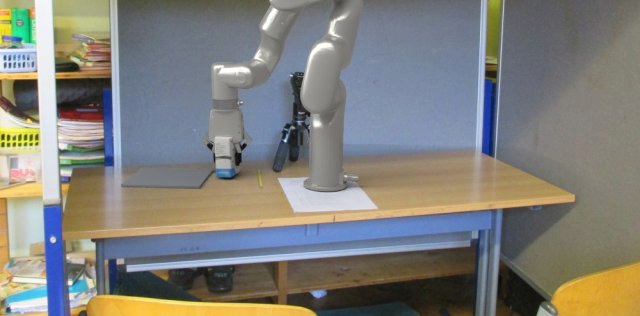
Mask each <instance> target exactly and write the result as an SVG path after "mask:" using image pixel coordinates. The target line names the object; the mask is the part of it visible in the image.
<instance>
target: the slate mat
mask: <svg viewBox="0 0 640 316" xmlns="http://www.w3.org/2000/svg"><path fill="white" fill-rule="evenodd" d="M213 172H214V168H191V167H190V168H188V167H186V168H185V167H147V166H142V167H141V168H140V169H139V170H137V171H136V172H135V173H134V174H132V175H131V176H130V177H129V178H128V179H126V180H125V181H124V182H123V183H121V184H120V187H125V188H155V189H156V188H157V189H159V188H163V189H198V190H199V189H200V188H201V187H202V186H203V184H204V183H205V182H206V181H207V180H208V179H209V177H210V176H211V174H212V173H213Z"/></svg>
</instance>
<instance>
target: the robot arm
mask: <svg viewBox="0 0 640 316" xmlns="http://www.w3.org/2000/svg"><path fill="white" fill-rule="evenodd" d="M322 1H324V0H268V2H269V3H270V5H269V7H268V8H267V10H266V12H265V14H264V15H263V17H262V19H261V21H260V23H259V25H258V29H259V32H260V36H261V37H260V43H259V46H258V48H257V49H256V52H255V53H254V55H253V56H252V58H251V60H248V61H245V62H238V63H235V62H234V61H217V62H213V63H212V64H211V66H210V74H211V75H210V76H211V77H210V78H211V100H212V101H211V102H212V108H211V109H210V111H209V120H208V131H207V133H206V134H205V135H204V136H203V138H202V139H201V142H200V143H202V144H203V145H205V146H206V147H207V148H208V149H209V150H210V151H211V152H212V155H213V158H212V159H213V163H214V165H215V166H216V160H215V141H214V139H215V137H231V138H232V140H233V143H234V144H235V147H236V149H237V152H236V166H239V165H240V166H241V163H242V161H243V157H242V155H243V153H242V152H243V151H244V150H245V149H246V148H247V146H249V145H250V144H251V143H252V142H253V138H252V137H251V136H250V135H249V134H248V133H247V131H245V121H244V114H243V110H242V108H240V106H244V100H242V99H241V100H240V98H239V90H249V89H254V88H256V87H260V86H262V85H264V84H265V83H267V81H268V80H269V79H270V78H271V76H272V74H273V72H274V71H275V69H276V67H277V66H278V64H279V62H280V61H281V58H282V55H283V52H284V50H285V46H286V42H287V39H288V37H289V35H290V34H291V32H292V30H293V29H294V27H295V25H296V24H297V22H298V20H299V18H301V17H300V16H301V15H302V13H303V12H304V10H305V8H306V6H308V5H313V4H315V3H320V2H322ZM330 1H331V8H330V12H329V15H328V17H327V22H326V28H325V32H324V35H323V37H322V38H320V39H318V40H316V41H315V42H314V43H313V45H312V46H311V48H310V50H309V52H308V55H307V60H306V64H305V68H304V73H303V77H302V82H301V87H300V91H299V94H300V95H299V97H300V98H299V99H300V102H301V105H302V106H303V107H304V109H305V110H306V111H307V112H309V113H310V115H309V116H310V118H309V136H308V137H309V146H308V147H309V149H308V150H309V151H308V160H309V161H308V178H306V179H304V181H303V187H304V188H305V189H308V190H309V191H310V190H311V191H315V192H338V191H342V190H345V189H347V188H348V186H349V185H348V182H359V174H355V173H350V172H349V173H348V172H347V173H346V172H345V171H344V170H345V169H344V168H343V166H344V165H343V161H344V158H343V157H344V133H345V132H344V128H345V127H344V126H345V112H346V104H347V89H346V88H347V87H346V85H345V83H344V82H343V80H342V79H341V73H342V71H343V70H345V69H346V68H348V66H349V65H350V64H351V62H352V59H353V55H354V49H355V44H356V41H357V36H358V31H359V27H360V22H361V17H362V12H363V7H364V0H330ZM244 140H245V141H244ZM243 141H244V143H242V142H243Z"/></svg>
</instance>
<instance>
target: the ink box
mask: <svg viewBox="0 0 640 316" xmlns="http://www.w3.org/2000/svg"><path fill="white" fill-rule="evenodd" d="M214 141H215V160H216V165H215V175H216V176H215V177H216V178H233V177H235V175H237V174H238V173H239V172H241V167H240V166H241V164H240V165H239V166H236V152H237V149H236V147H235V144H234V143H233V140H232V138H231V137H215V139H214Z"/></svg>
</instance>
